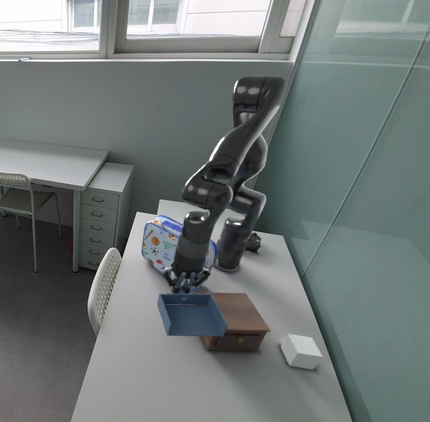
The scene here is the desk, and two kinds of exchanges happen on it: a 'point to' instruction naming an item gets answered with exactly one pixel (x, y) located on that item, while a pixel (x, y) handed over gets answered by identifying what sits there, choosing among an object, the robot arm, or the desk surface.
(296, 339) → the white cube
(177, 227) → the lunch box
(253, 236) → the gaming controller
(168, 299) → the dustpan
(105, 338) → the desk surface
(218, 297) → the storage box
